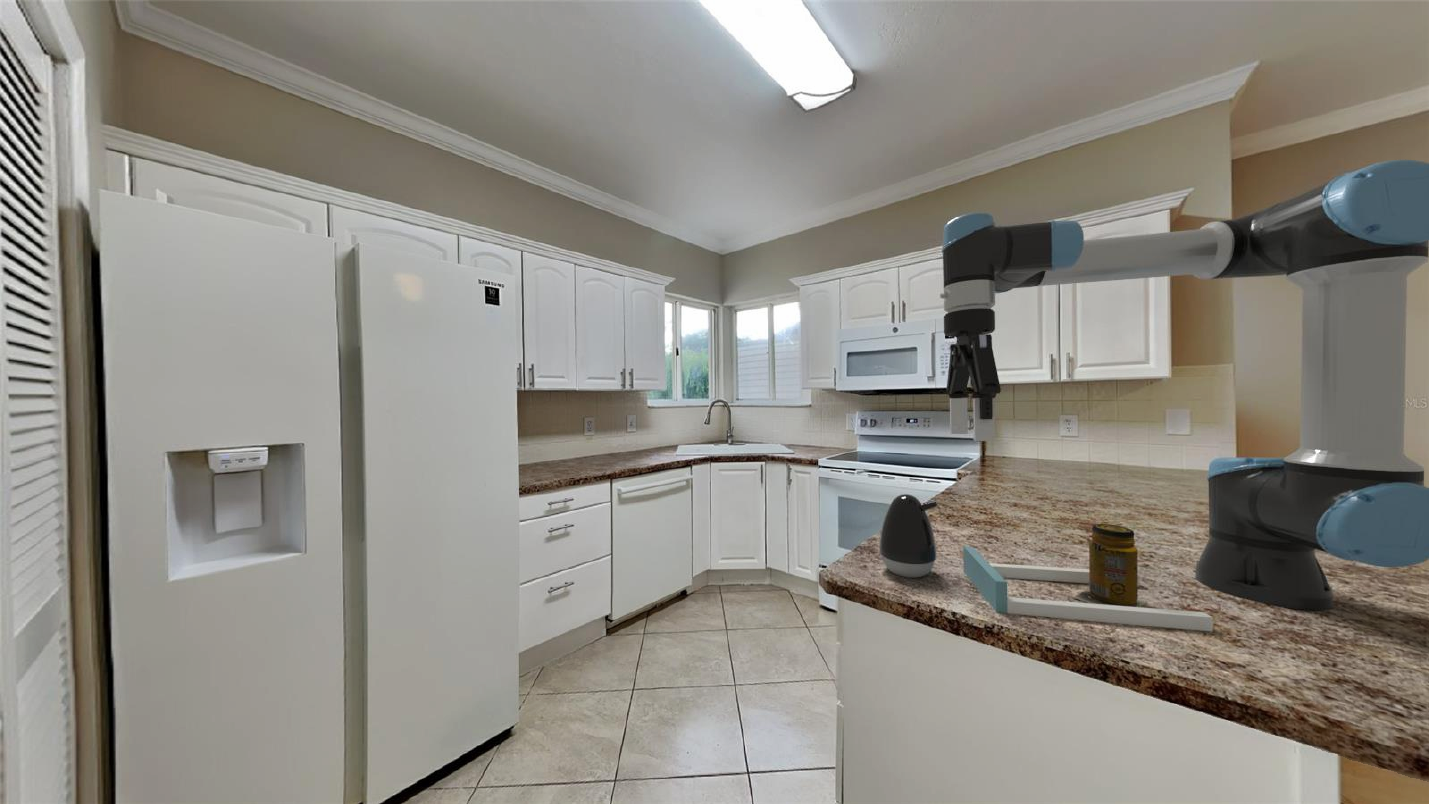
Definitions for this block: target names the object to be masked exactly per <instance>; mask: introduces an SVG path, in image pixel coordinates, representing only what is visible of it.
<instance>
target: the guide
mask: <svg viewBox="0 0 1429 804" xmlns="http://www.w3.org/2000/svg"><path fill="white" fill-rule="evenodd" d="M962 549H963V550H962V552H963V553H962V554H963V555H962V556H963V557H962V559H963V573H964V574H965V575H966V576H967V578H968V579H969V580H970V581H971V583H972V584H973V585H974V586H975V587H976V589H977V591H978V592H979V593H980V594H981V596H983V598H984V599H985V600H986V602H987V603H988V602H989V603H988V604H989V605H990V606H991V608H992V607H993V608H992V609H993V611H994V612H995V613H1001V612H1003V613H1004V614H1014V615H1024V616H1025V615H1026V616H1033V617H1034V616H1035V617H1043V618H1044V617H1046V618H1058V619H1067V620H1079V621H1088V622H1099V623H1111V624H1112V623H1113V624H1121V625H1134V626H1145V627H1157V628H1168V629H1178V630H1180V629H1182V630H1191V631H1201V632H1213V633H1214V618H1213V616H1211V615H1209V614H1207V613H1206V612H1202V611H1191V610H1178V609H1177V610H1176V609H1168V608H1167V609H1165V608H1154V607H1152V608H1151V607H1128V606H1116V605H1103V604H1090V603H1087V602H1077V601H1076V602H1073V601H1063V600H1049V599H1038V598H1037V599H1036V598H1035V599H1034V598H1022V597H1011V596H1008V581H1007V580H1006V578H1008V579H1020V580H1033V581H1050V582H1062V583H1063V582H1065V583H1079V584H1089V568H1087V569H1086V568H1072V567H1056V566H1041V565H1026V564H1025V565H1024V564H1023V565H1022V564H1009V563H1007V564H1005V563H994V562H993V563H992V562H991V563H990V562H988V561H987V560H986V559H985V558H984V557H983V556H982V555H981V554H980V553H979V551H978V550H976V549H975V547H974V546H969V545H963V546H962ZM1137 583H1138V585H1137V586H1138V588H1140V575H1139V574H1138V582H1137ZM1003 613H1002V614H1003Z"/></svg>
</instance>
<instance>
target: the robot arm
mask: <svg viewBox="0 0 1429 804" xmlns="http://www.w3.org/2000/svg"><path fill="white" fill-rule="evenodd" d="M942 232H943V235H942V236H943V237H942V249H941V253H942V266H943V267H942V268H943V269H942V271H943V273H942V274H943V275H942V276H943V292H941V293H940V295H939V297H940V299H943V300H944V301H943V310H944V311H945V312H947V313H945V315H944V316H943V333H944V336H946V337H949V338H952V337H955V338H956V343H951V344H950V346H949V351H950V352H949V354H950V355H949V363H948V364H949V366H948V372H947V373H948V374H947V380H946V390H945V393H946V395H948V397H949V431H950V433H949V434H950V435H968V434H969V433H968V432H969V430H968V427H969V426H968V424H969V423H968V398H970V399H972V404H973V406H972V408H973V409H972V411H973V417H972V418H973V441H974V442H995V441H996V429H995V428H996V425H995V423H996V422H995V419H996V418H995V416H996V415H995V398H996V396H997V395H998V394H999V395H1000V394H1001V391H1002V390H1001V384H1000V380H999V375H998V370H997V365H996V361H995V356H994V349H993V337H992V333H994V332H995V331H996V311H995V310H994V309H992V308H993V307H994V306H995V305H996V294H1002V293H1006V292H1009V291H1012V290H1014V289H1023V288H1032V287H1033V288H1034V287H1043V286H1055V285H1056V286H1058V285H1070V284H1085V283H1086V284H1087V283H1097V282H1108V281H1109V282H1110V281H1123V280H1136V279H1147V278H1148V279H1149V278H1163V277H1164V278H1165V277H1177V276H1187V275H1188V276H1189V275H1190V276H1191V275H1193V277H1194V278H1196V279H1199V280H1217V279H1232V278H1233V279H1235V278H1238V279H1239V278H1256V277H1274V276H1275V277H1276V276H1285V275H1286V280H1287V281H1288V282H1291V283H1293V284H1294V285H1296V286H1298V287H1299V288H1301V289H1302V309H1301V310H1302V311H1301V312H1302V313H1301V314H1302V316H1301V318H1302V320H1301V321H1302V323H1301V371H1300V372H1301V378H1300V379H1301V380H1300V381H1301V382H1300V383H1301V384H1300V385H1301V387H1300V431H1299V432H1300V436H1299V437H1300V439H1299V443H1300V444H1299V445H1300V446H1299V448H1298V450H1295V451H1294V452H1293V453H1291V454H1288V455H1287V456H1285V457H1217V458H1214V459H1212V460H1211V461H1210V463H1209V466H1208V473H1207V477H1206V480H1207V482H1208V524H1209V525H1208V533H1209V534H1208V535H1209V536H1208V540H1207V543H1206V544H1205V547H1204V548H1203V550H1202V553H1201V555H1200V557H1199V560H1198V561H1197V563H1196V565H1195V570H1194V571H1195V579H1196V581H1197V582H1198V583H1200V584H1201V585H1204V586H1205V587H1208V588H1210V589H1212V590H1215V591H1217V592H1220V593H1223V594H1226V595H1229V596H1233V597H1236V598H1239V599H1244V600H1248V601H1252V602H1256V603H1261V604H1264V605H1270V606H1277V607H1283V608H1285V609H1293V610H1301V611H1302V610H1303V611H1325V610H1330V609H1332V608H1333V607H1334V591H1333V589H1332V587H1331V586H1330V584H1329V582H1328V579H1327V576H1326V575H1325V572H1324V570H1323V568H1322V567H1321V565H1320V563H1319V560H1318V558H1317V556H1316V550H1317V551H1321V552H1323V553H1327V554H1329V555H1331V556H1332V557H1336V558H1339V559H1342V560H1345V561H1350V562H1357V563H1362V564H1366V565H1370V566H1373V567H1374V566H1375V567H1381V568H1404V567H1411V566H1415V565H1419V564H1422V563H1424V562H1426V561H1428V560H1429V487H1427V486H1425V469H1424V468H1425V467H1424V466H1422V465H1420V464H1418V463H1417V462H1415V461H1414V460H1412V459H1411V458H1409V457H1408V456H1407V455H1406V454H1405V451H1404V450H1405V410H1406V409H1405V406H1406V405H1405V404H1406V403H1405V402H1406V399H1405V398H1406V352H1407V351H1406V350H1407V349H1406V348H1407V346H1406V345H1407V343H1406V342H1407V340H1406V339H1407V298H1408V297H1407V291H1408V289H1407V287H1408V286H1407V285H1408V276H1410V275H1411V274H1412V273H1413V272H1415V271H1416V270H1417V269H1418V268H1420V267H1422V266H1423V265H1424V264H1426V263H1427V262H1428V261H1429V162H1426V161H1422V160H1415V159H1394V160H1386V161H1381V162H1377V163H1373V164H1371V165H1369V166H1368V165H1367V166H1365V167H1363V168H1360V169H1358V170H1354V171H1348V172H1346V173H1344V174H1341V175H1339V176H1337V177H1335V178H1334V179H1332V180H1330V181H1328V182H1326V183H1323V184H1321V185H1318V186H1316V187H1314V188H1312V189H1310V190H1307V191H1305V192H1302V193H1300V194H1298V195H1296V196H1293V197H1291V198H1288V199H1286V200H1284V201H1281V202H1279V203H1277V204H1274V205H1272V206H1271V205H1270V206H1269V207H1267V208H1264V209H1261V210H1259V211H1255V212H1253V213H1251V214H1246V215H1244V216H1240V217H1236V218H1233V219H1226V220H1218V221H1216V220H1215V221H1211V222H1208V223H1206V224H1204V225H1203V226H1201V227H1200V228H1199V229H1189V230H1188V229H1187V230H1178V231H1168V232H1159V233H1149V234H1148V233H1147V234H1139V235H1138V234H1137V235H1127V236H1117V237H1108V238H1107V237H1106V238H1097V239H1095V238H1094V239H1084V234H1085V233H1084V230H1083V228H1082V226H1081V224H1080V223H1079V222H1077V221H1076V220H1051V221H1045V222H1036V223H1026V224H1018V225H1017V224H1015V225H1007V226H1006V225H1005V226H1003V225H1001V226H1000V225H999V226H996V224H995V222H994V217H993V215H992V214H991V213H988V212H983V213H981V212H971V213H966V214H963V215H959V216H957V217H954V218H952V219H951V220H950V221H948V222H947V223H946V224H945V225H944V228H943V231H942ZM969 380H970V381H971V385H972V387H973V391H972V392H971V395H969V392H967V390H968V386H969V385H968V384H969Z"/></svg>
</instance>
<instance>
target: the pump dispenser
mask: <svg viewBox="0 0 1429 804" xmlns="http://www.w3.org/2000/svg"><path fill="white" fill-rule="evenodd" d="M937 507H938V503H937V501H935V500H933V501H929V502H922V503H921V501H920V500H919V499H918V498H917V497H916V496H914V495H911V494H907V493H905V494H900V495H898V496H896V497H895V498H894V499H893V500H892V501H891V503H890V505H889V507H888V509H887V511H886V514H885V516H884V520H883V522H882V526H881V530H880V531H881V532H880V535H879V537H880V538H879V549H878V550H879V554H880V555H881V559H882V561H883V564H884V565H885V566H886V568H887V569H888V570H889V571H890V572H892V573H893V574H895V575H896V576H898V577H899V576H900V577H904V578H912V579H914V578H916V579H918V578H921V577H924V576H926V575H927V574H929V573H930V572H931V571H932V569H933V567H934V564H935V562H936V561H937V557H938V556H937V555H938V553H937V546H936V539H935V533H934V530H933V527H932V526H933V525H932V523H931V521H930V518H929V516H928V513H927V511H928V510H931V509H934V508H937Z"/></svg>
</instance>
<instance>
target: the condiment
mask: <svg viewBox="0 0 1429 804" xmlns="http://www.w3.org/2000/svg"><path fill="white" fill-rule="evenodd" d="M1091 529H1092V530H1091V531H1092V533H1091V540H1089V543H1088V548H1089V549H1088V550H1089V551H1088V554H1089V556H1088V557H1089V559H1088V560H1089V562H1088V567H1089V568H1088V569H1089V583H1088V585H1089V588H1087V589H1085V590H1084V591H1081V592H1080V593H1078V594H1077V595H1074V596H1073V598H1074V599H1077V600H1079V601H1081V602H1083V603H1090V604H1103V605H1116V606H1128V607H1141V608H1143V606H1144V605H1145V604H1147V603H1148V600H1146V599H1143V598H1139V597H1138V595H1139V594H1138V590H1139V589H1138V588H1139V587H1138V586H1137V585H1138V583H1137V582H1138V575H1139V574H1138V555H1139V553H1138V548H1137V547H1136V546H1135V541H1136V540H1135V532H1134V531H1133V529H1131V528H1129V527H1126V526H1122V525H1117V524H1110V523H1096V524H1093V525H1092V527H1091Z"/></svg>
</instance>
